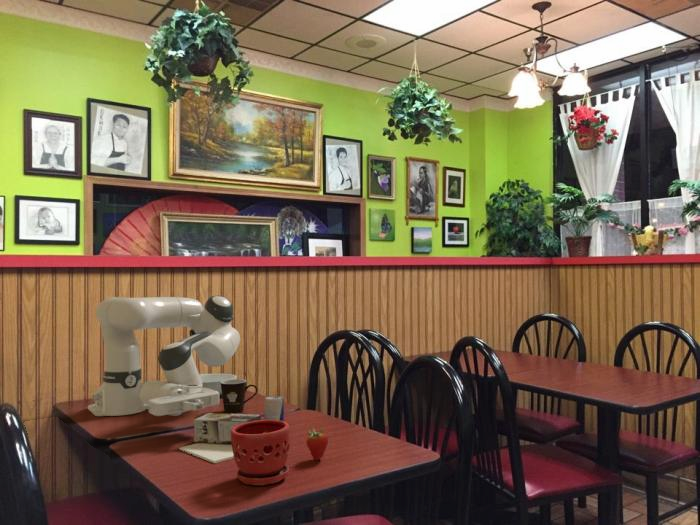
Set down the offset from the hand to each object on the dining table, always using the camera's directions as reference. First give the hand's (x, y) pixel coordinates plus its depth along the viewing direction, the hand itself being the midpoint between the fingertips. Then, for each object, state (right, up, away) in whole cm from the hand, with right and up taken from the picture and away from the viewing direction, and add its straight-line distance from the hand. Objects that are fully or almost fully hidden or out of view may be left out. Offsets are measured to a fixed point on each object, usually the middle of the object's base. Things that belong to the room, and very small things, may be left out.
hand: (199, 406), depth 165 cm
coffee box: (0, -6, +2) cm, 7 cm away
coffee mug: (+4, -11, +37) cm, 39 cm away
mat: (+7, -10, -7) cm, 14 cm away
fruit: (+33, -9, -16) cm, 38 cm away
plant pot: (+22, -9, -30) cm, 38 cm away
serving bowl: (-13, -12, +66) cm, 68 cm away
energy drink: (+21, -10, +1) cm, 23 cm away
